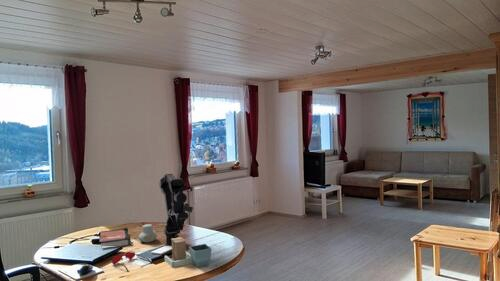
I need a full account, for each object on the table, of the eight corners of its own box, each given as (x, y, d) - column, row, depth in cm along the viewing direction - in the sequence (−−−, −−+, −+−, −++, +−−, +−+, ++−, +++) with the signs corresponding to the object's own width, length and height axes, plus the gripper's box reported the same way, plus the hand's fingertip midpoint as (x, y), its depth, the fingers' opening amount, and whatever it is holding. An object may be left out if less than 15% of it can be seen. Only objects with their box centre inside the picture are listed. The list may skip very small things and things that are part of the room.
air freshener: (140, 244, 229) (139, 228, 229) (138, 241, 237) (137, 225, 237) (158, 241, 234) (157, 225, 234) (155, 238, 241) (155, 222, 241)
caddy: (172, 259, 200) (171, 238, 199) (181, 257, 202) (180, 237, 202) (176, 263, 193) (175, 242, 193) (186, 261, 196) (185, 240, 196)
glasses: (134, 258, 206) (134, 249, 206) (152, 264, 195) (152, 254, 195) (110, 265, 195) (110, 256, 195) (128, 273, 185) (127, 262, 184)
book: (99, 238, 247) (99, 231, 247) (127, 234, 253) (127, 227, 253) (99, 250, 223) (99, 241, 223) (130, 245, 229) (130, 237, 229)
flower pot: (195, 269, 185) (194, 251, 185) (189, 264, 193) (188, 246, 192) (212, 265, 189) (211, 248, 189) (205, 260, 197) (205, 243, 197)
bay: (164, 260, 199) (164, 255, 199) (186, 255, 205) (186, 251, 205) (172, 267, 189) (172, 262, 189) (194, 262, 195) (194, 257, 195)
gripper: (196, 201, 208) (198, 229, 208) (185, 197, 224) (187, 223, 225) (176, 204, 203) (178, 233, 203) (167, 199, 219) (168, 226, 219)
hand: (178, 228), depth 212 cm, fingers open, 9 cm apart
